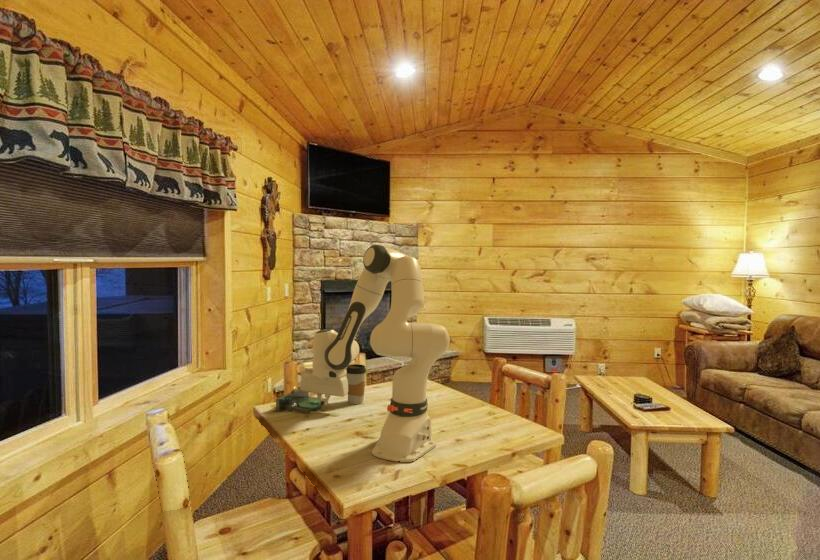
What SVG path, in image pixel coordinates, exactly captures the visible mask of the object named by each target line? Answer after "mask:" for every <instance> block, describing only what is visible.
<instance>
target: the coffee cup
mask: <svg viewBox="0 0 820 560" xmlns="http://www.w3.org/2000/svg"><path fill="white" fill-rule="evenodd" d="M345 370H346V371H347V374H346V377H347V380H348V393H347V401H348V403H349V404H350V405H351V404H352V405H360V404H363V403H364V399H365V388H366V372H367V368H366V365H365V364H361V363H360V364H354V363H353V364H349V365H348V366H347V367H346V368H345Z"/></svg>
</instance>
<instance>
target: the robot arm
mask: <svg viewBox="0 0 820 560" xmlns="http://www.w3.org/2000/svg"><path fill="white" fill-rule="evenodd" d="M362 258H363V260H362V262H363V263H362V264H363V267H364V268H363V269H362V272H361V274H360V275H359V277H358V279H357V282H356V284H355V286H354V288H353V292H352V296H351V299H350V303H349V306H348V309H347V312H346V315H345V317H344V320H343V321H342V323H341V326H340V328H339V330H338V332H337V331H336V330H335V329H333V328H325V329H320V330H317V331H316V332H315V333H314V334H313V339H312V355H313V358H312V359H313V360H312V368H309V367H304V368H302V370H301V374H300V375H301V377H300V384H299V388H300V389H301V391H304V392H309V393H312V394H313V393H314V394H316V397H317V398H318V399H319V404H320V405H322V406H327V405H329V399H330V398H331V396H334V397H340V398H344V397H345V396H348V394H347V393H348V380H347V371H346V369H347V366H348V365H351V363H352V362H353V361H355V359H356V358H358V356H359V354H360V345H359V343H358V341H357V340H355V338H356V336H357V334H358V331H359V329H360V327H361V325H362V323H363V322H364V321H365V320H366V318H368V317H369V316H370V315H371V314H372V313H374V311H376V309H377V307H378V306H379V304H380V302H381V301H382V299H383V296H384V293H385V290H386V287H387V285H388V283H389V282H390V284H391V298H390V299H391V300H390V301H391V303H390V308H389V312H388V313H387V315H386V316H385V318H384V319H383V320H382V321H381V322H380V323H378V324H377V325H376V326H375V327H374V328H373V330H371V334H370V338H369V342H370V343H369V344H370V347H371V349H372V351H373V352H374V353H375V354H376V355H378V356H382V357H387V358H411V359H410V361H409V363H408V364H406V365H405V366H403V367H400V368H399V369H397V370H396V371H395V372H394V373H393V376H392V389H391V390H392V392H391V399H390V403H389V404H388V405H387V406H386V411H387V412H388V414H387V416H386V419H385V422H384V423H383V426H382V429H381V431H380V434H379V435H380V437H379V439H378V440H377V442H376V443H375V445H374V447H373V449H372V450H371V455H373V456H374V457H376V458H379V459H382V460H386V461H392V462H398V461H400V462H399V463H413V462H415V461H417V460H418V459H420V458H421V457H423V455H425V454H427V453H428V452H429V451H431V450H432V449H434V448H436V446H437V442H436V441H435V440H433V431H432V427H433V426H432V419H431V417H430V416H429V415H428V412H427V411H428V406H429V404H428V399H427V386H428V385H427V384H428V377H429V373H430V371H431V370H432V369H431V368H432V367H433V365H435V362H436V361H438V359H439V358H440V357H441V356H443V355H444V354H445V353H446V352H447V350H448V348H449V347H450V342H451V339H450V333H449V331H448V330H447V328H446V327H445V326H444V325H441V324H438V323H434V322H433V323H432V322H409V321H408V320H409V319H410V318H411V317H414V316H416V315H418V314H419V313H420V312H421V311H422V310H423V309H424V307H425V305H426V304H425V303H426V302H425V289H424V288H425V287H424V279H423V272H422V268H421V265H420V262H419V260H418V259H417V258H416V257H414V256H410V255H407V254H405V253H403V252H402V251H399V250H396V249H394V248H391V247H387V246H384V245H381V244H372V245H371V246H369V247H368V248H366V250H365V252H364V255H363V257H362ZM323 395H324V397H323ZM323 398H324V399H325V400H324V399H323ZM419 457H420V458H419ZM416 459H417V460H416ZM412 461H413V462H412Z"/></svg>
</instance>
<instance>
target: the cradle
mask: <svg viewBox="0 0 820 560" xmlns="http://www.w3.org/2000/svg"><path fill="white" fill-rule="evenodd" d="M309 393H310V392H304V391H301V389H300V387H299V388H297V389H296V386H291V387H290V392H288V393H286V394H283V395H282V396H279V397H276V398H275V411H276V412H277V413H280V412H282V411H286V410H288V412H292V411H295V412H294V413H298V412H299V413H300V414H306V415H308V414H309V413H310V412H311V411H310V409H307V408H301V407H296V406H295V405H293V404H294V403H296V401H297V400H298V399H301V398H306V397H311V396H309ZM316 398H318V397H317V396H316ZM323 399H324V400H325V397H323ZM291 405H293V406H291Z"/></svg>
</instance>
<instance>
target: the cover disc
mask: <svg viewBox="0 0 820 560" xmlns="http://www.w3.org/2000/svg"><path fill="white" fill-rule="evenodd" d="M316 397H317V396H316ZM316 397H315V396H310V397H306V398H301V399H298V400H297V401H296V404H295V405H296V406H295V407H301V408H307V409H310V412H312V411H317V410H320V409H322V408H321V407H323V405H320V404H319V399H318V397H317V398H316Z"/></svg>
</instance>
